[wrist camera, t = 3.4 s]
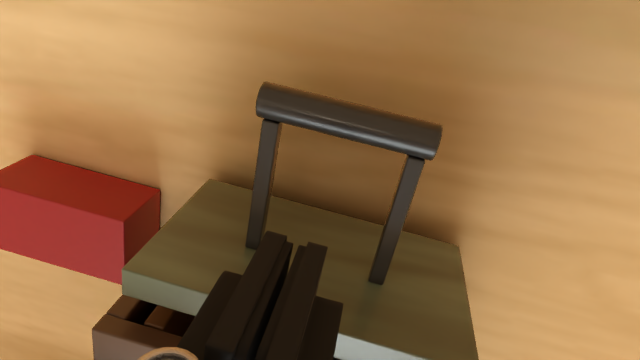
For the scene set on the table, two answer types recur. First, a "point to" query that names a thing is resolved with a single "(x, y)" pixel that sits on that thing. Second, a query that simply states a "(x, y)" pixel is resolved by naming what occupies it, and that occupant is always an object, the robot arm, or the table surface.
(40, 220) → the red slab
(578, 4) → the table surface
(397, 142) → the drawer
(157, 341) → the cabinet
